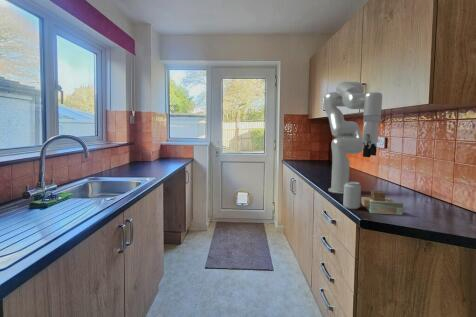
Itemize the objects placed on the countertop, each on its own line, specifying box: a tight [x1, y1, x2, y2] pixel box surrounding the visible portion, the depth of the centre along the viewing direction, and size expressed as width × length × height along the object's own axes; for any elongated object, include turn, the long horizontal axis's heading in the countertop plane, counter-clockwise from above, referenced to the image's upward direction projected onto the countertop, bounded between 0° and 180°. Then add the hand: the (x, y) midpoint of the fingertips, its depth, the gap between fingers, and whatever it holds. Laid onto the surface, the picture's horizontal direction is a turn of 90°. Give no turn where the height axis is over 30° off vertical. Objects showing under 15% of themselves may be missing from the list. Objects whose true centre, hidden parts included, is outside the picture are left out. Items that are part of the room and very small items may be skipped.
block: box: [370, 189, 386, 201], centre depth 146 cm, size 5×5×4 cm
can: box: [342, 181, 362, 210], centre depth 142 cm, size 8×8×12 cm
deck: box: [360, 196, 404, 216], centre depth 141 cm, size 18×13×5 cm
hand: (369, 156), depth 144 cm, fingers open, 9 cm apart
